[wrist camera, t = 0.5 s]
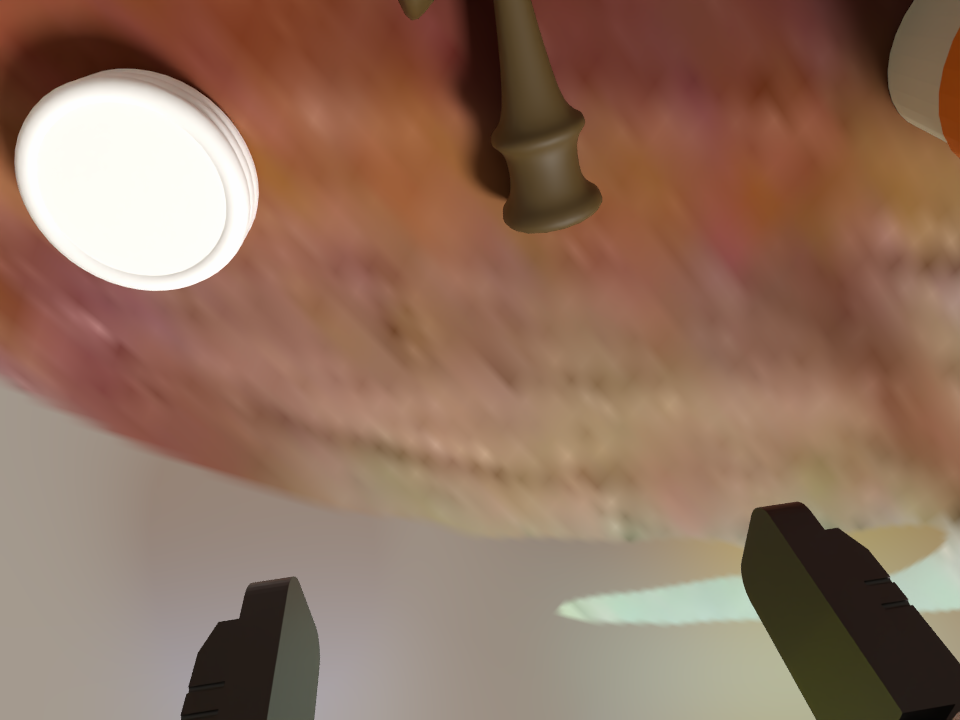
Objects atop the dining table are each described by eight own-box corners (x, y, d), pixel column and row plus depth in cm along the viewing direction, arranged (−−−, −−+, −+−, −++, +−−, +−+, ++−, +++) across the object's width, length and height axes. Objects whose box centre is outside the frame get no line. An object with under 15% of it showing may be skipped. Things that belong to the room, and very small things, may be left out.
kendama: (458, 225, 36) (322, -247, 25) (622, 175, 36) (560, -320, 24) (474, 269, 31) (312, -298, 20) (665, 211, 31) (612, -390, 20)
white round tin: (125, 291, 35) (101, 321, 32) (-3, 110, 30) (-46, 125, 27) (294, 230, 34) (285, 255, 31) (194, 35, 29) (172, 42, 26)
